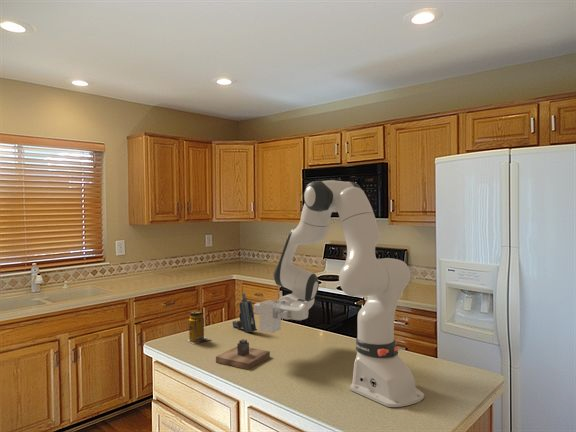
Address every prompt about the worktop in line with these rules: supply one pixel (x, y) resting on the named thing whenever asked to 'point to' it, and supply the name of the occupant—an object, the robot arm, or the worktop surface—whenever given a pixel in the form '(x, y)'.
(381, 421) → the worktop surface
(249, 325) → the gun
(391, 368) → the robot arm
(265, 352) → the wooden base with peg
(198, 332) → the condiment
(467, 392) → the worktop surface
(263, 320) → the tall wooden block
